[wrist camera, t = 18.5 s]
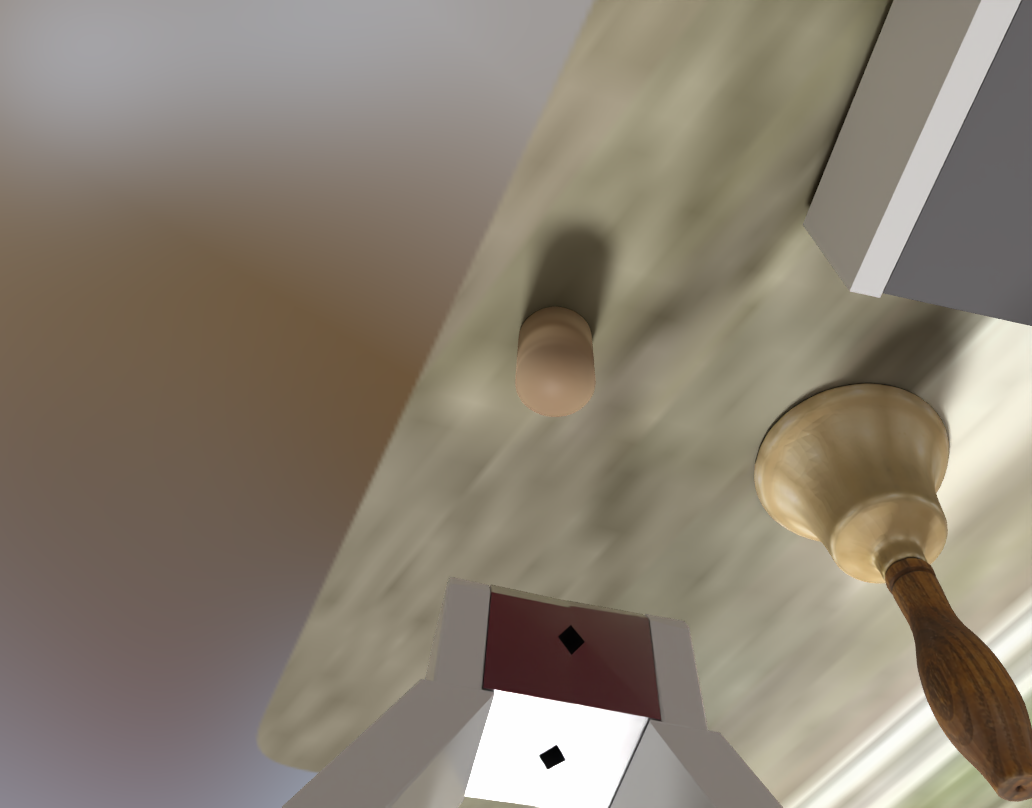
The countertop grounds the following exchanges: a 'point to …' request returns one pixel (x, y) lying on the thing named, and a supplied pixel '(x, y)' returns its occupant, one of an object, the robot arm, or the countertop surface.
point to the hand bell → (897, 551)
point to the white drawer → (901, 132)
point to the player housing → (981, 199)
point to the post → (555, 362)
